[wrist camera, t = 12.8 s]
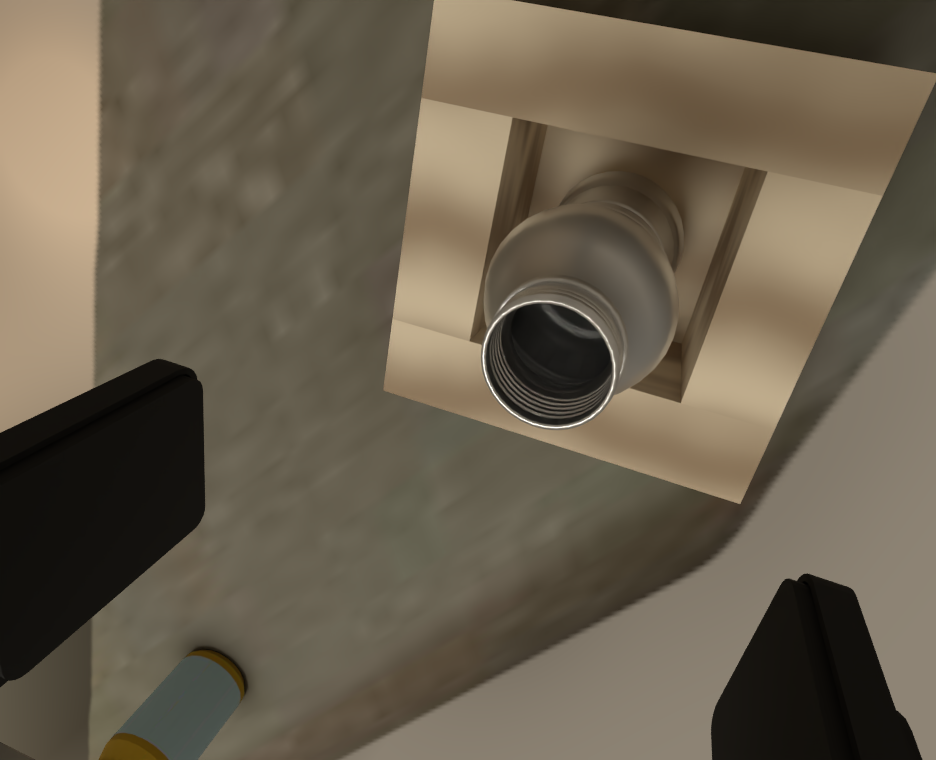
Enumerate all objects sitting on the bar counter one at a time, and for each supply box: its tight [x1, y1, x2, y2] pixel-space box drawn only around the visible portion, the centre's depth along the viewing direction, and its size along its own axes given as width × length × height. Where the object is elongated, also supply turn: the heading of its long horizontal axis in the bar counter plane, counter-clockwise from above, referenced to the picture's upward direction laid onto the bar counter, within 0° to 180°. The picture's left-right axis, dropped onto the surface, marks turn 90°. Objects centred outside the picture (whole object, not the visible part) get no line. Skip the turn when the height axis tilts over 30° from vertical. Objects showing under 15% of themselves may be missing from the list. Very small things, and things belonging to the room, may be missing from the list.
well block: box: [383, 0, 936, 504], centre depth 30 cm, size 18×18×9 cm
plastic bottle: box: [481, 171, 684, 430], centre depth 25 cm, size 6×7×20 cm
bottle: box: [99, 650, 244, 760], centre depth 56 cm, size 7×7×15 cm
